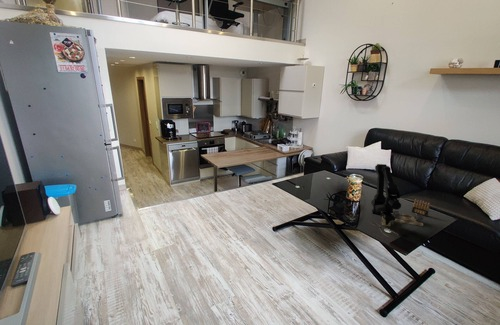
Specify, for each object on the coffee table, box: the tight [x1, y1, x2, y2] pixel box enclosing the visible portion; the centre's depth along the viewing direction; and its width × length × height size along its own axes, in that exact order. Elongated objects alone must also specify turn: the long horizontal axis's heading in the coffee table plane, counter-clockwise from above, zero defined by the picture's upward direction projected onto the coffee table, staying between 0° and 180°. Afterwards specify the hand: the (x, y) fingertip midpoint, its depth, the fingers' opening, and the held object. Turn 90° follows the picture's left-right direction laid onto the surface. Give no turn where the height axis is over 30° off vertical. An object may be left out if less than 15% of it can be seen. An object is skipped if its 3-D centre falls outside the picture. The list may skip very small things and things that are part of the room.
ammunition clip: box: [411, 198, 430, 218], centre depth 191 cm, size 11×2×12 cm, turn 42°
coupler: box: [381, 215, 392, 227], centre depth 176 cm, size 5×6×5 cm
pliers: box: [369, 221, 399, 238], centre depth 169 cm, size 10×1×20 cm
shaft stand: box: [392, 210, 424, 227], centre depth 182 cm, size 18×10×6 cm, turn 70°
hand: (385, 222), depth 176 cm, fingers closed on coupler, 5 cm apart
